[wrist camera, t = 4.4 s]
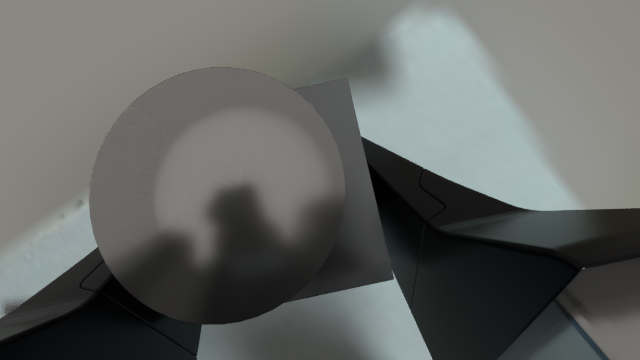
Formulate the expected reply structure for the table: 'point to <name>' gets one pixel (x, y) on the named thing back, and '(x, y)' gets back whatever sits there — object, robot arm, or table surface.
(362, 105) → the table surface
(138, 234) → the square bottle with cap
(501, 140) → the table surface
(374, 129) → the table surface
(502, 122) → the table surface
